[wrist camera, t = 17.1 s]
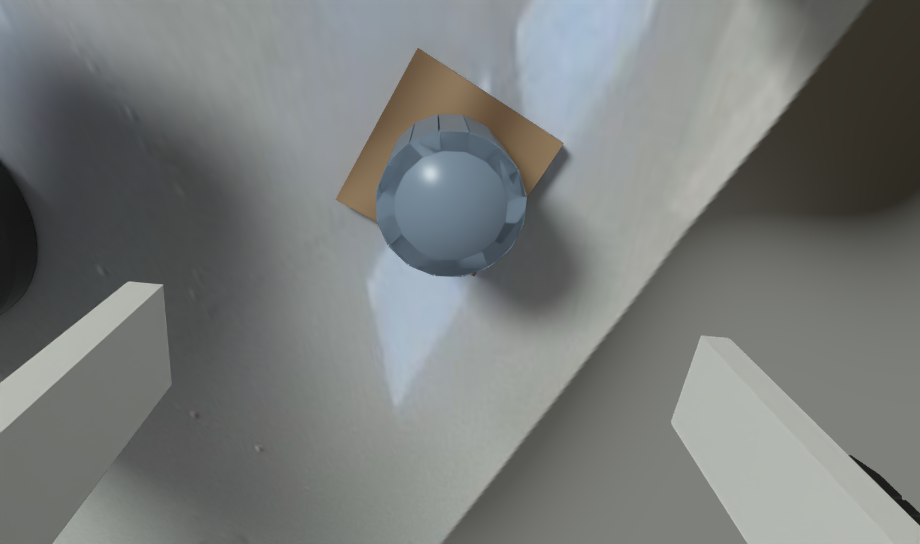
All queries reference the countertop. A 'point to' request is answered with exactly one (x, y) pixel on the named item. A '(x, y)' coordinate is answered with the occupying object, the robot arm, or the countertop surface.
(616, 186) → the countertop surface
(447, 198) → the cap
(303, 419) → the countertop surface
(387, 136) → the wooden square stand
